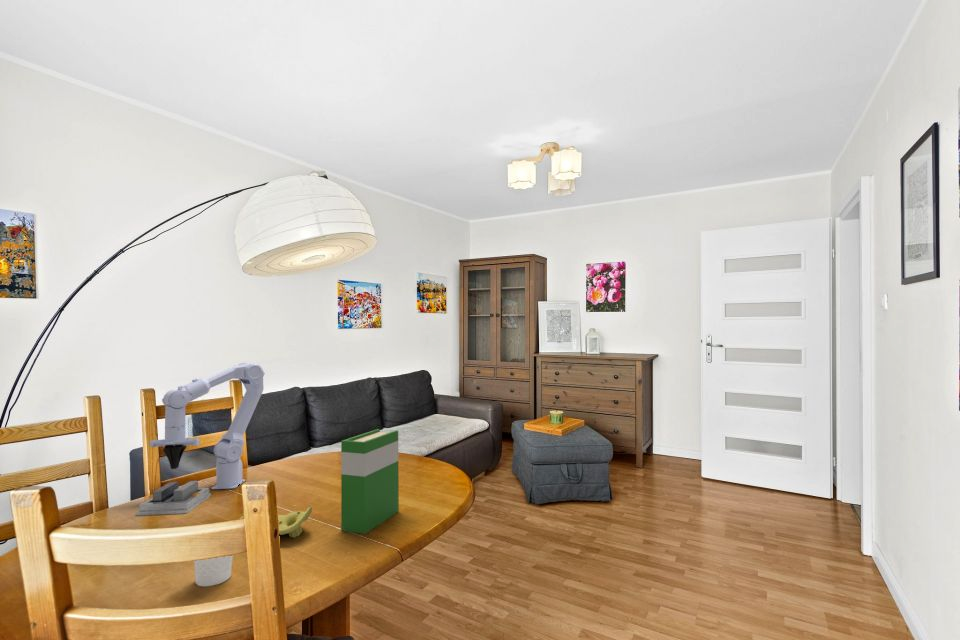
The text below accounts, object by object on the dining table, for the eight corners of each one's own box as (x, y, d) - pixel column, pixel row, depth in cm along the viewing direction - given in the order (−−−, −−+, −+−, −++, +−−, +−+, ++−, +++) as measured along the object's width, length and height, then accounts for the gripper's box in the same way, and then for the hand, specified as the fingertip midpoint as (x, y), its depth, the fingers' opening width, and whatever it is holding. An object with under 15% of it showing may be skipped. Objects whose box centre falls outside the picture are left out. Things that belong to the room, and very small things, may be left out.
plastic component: (230, 529, 126) (255, 501, 135) (241, 549, 129) (265, 521, 138) (291, 532, 120) (314, 502, 128) (302, 554, 122) (323, 523, 131)
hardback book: (377, 508, 147) (377, 429, 148) (398, 511, 144) (398, 430, 145) (341, 530, 130) (341, 440, 131) (364, 533, 127) (364, 442, 128)
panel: (189, 496, 157) (190, 481, 157) (197, 496, 157) (198, 480, 157) (173, 507, 147) (173, 490, 147) (182, 506, 147) (182, 490, 147)
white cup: (194, 592, 99) (195, 542, 99) (190, 577, 105) (191, 530, 105) (236, 580, 103) (237, 533, 104) (230, 567, 110) (231, 522, 110)
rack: (166, 498, 159) (166, 479, 159) (210, 496, 160) (211, 477, 160) (136, 515, 143) (137, 495, 143) (186, 513, 144) (186, 493, 144)
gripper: (144, 429, 154) (144, 472, 154) (192, 428, 156) (191, 470, 155) (157, 425, 161) (156, 466, 161) (202, 424, 163) (202, 464, 162)
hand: (174, 468), depth 158 cm, fingers closed
